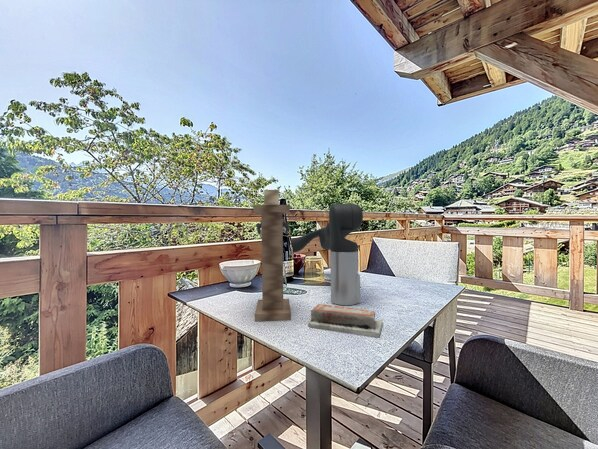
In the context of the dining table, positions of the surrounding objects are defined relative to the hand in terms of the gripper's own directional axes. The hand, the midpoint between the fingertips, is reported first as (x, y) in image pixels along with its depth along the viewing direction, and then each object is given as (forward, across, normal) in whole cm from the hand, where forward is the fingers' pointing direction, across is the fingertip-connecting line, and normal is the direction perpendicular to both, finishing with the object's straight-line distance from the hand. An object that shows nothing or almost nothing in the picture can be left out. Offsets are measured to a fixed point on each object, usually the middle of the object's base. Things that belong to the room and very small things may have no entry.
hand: (272, 220), depth 114 cm
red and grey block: (+26, -19, -48) cm, 58 cm away
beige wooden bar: (+28, 0, -11) cm, 30 cm away
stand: (+16, 0, -41) cm, 44 cm away
